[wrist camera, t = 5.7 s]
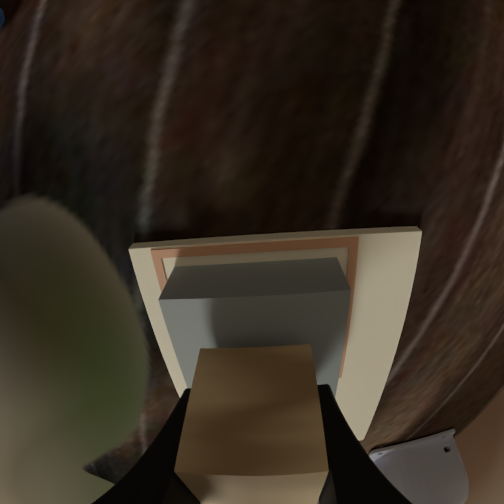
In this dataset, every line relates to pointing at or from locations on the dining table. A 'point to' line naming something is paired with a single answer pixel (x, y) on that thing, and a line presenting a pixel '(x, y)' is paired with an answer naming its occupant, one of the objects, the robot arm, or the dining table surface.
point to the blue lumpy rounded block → (1, 18)
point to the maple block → (254, 428)
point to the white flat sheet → (309, 247)
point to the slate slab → (259, 310)
